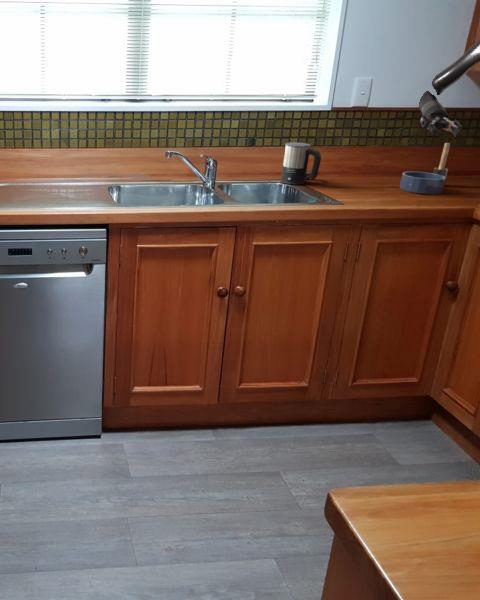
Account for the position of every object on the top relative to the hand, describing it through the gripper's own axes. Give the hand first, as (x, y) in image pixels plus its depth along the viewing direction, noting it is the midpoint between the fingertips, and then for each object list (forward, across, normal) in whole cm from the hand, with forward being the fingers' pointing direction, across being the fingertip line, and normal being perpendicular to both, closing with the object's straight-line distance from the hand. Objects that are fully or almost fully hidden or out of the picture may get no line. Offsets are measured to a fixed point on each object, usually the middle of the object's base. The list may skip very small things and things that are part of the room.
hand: (446, 133), depth 233 cm
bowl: (+21, -9, +14) cm, 27 cm away
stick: (+11, +1, +16) cm, 20 cm away
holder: (+11, +1, +17) cm, 20 cm away
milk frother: (+14, -51, +21) cm, 57 cm away
